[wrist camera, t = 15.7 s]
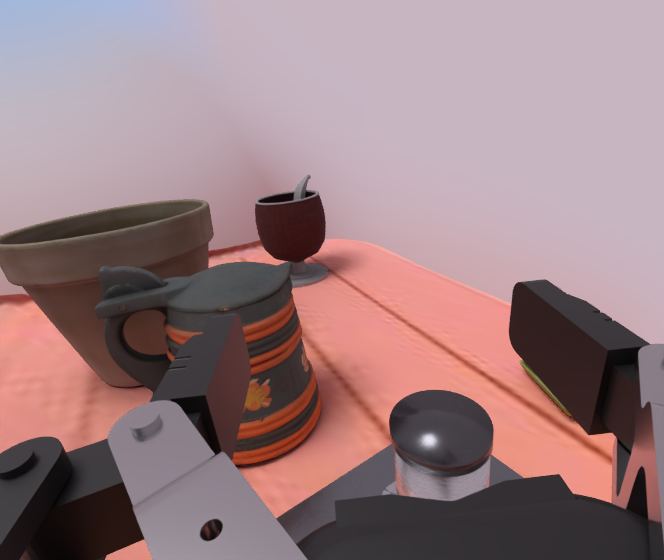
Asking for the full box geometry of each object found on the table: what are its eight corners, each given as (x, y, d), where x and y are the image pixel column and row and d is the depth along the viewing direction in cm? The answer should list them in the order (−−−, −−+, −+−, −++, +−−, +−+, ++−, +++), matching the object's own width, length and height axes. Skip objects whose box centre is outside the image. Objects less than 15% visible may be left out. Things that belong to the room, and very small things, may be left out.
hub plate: (455, 882, 15) (455, 852, 14) (273, 532, 30) (266, 503, 29) (654, 586, 24) (664, 552, 23) (436, 424, 38) (435, 399, 37)
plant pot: (186, 307, 74) (153, 195, 66) (273, 337, 59) (244, 196, 51) (37, 377, 56) (-33, 236, 48) (106, 445, 41) (22, 256, 33)
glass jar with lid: (444, 617, 23) (442, 482, 19) (382, 538, 27) (369, 417, 23) (506, 556, 25) (516, 426, 21) (440, 494, 30) (437, 378, 26)
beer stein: (140, 515, 33) (49, 307, 26) (150, 411, 46) (91, 254, 39) (342, 435, 39) (314, 246, 31) (300, 363, 52) (274, 217, 44)
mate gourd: (308, 292, 73) (291, 187, 66) (254, 285, 81) (233, 189, 73) (347, 264, 85) (336, 173, 78) (297, 260, 92) (283, 176, 85)
